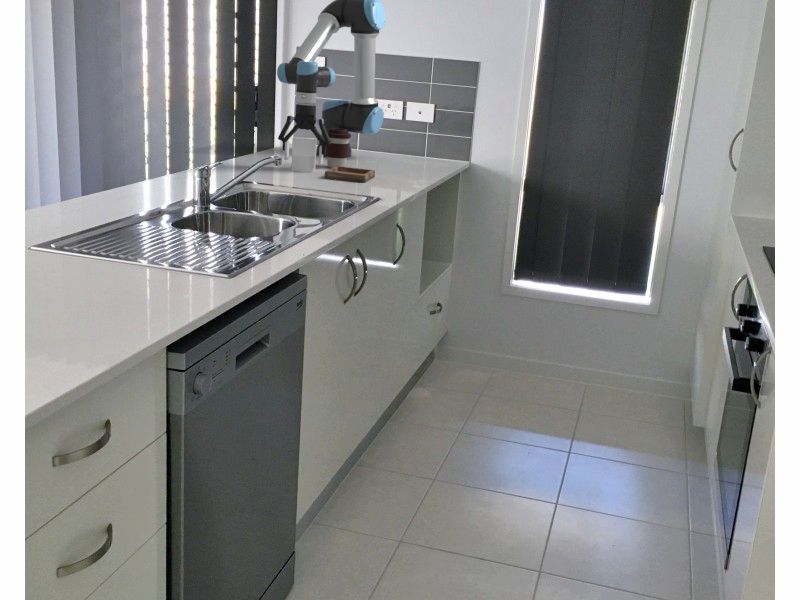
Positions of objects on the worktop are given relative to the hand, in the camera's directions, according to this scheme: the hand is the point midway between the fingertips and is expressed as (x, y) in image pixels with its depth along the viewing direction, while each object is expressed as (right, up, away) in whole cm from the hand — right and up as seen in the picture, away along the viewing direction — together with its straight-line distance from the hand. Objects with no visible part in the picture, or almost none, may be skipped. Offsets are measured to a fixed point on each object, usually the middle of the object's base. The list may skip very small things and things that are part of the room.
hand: (303, 161), depth 322 cm
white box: (0, -3, +1) cm, 4 cm away
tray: (+18, -7, -8) cm, 21 cm away
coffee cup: (+12, -1, +13) cm, 17 cm away
